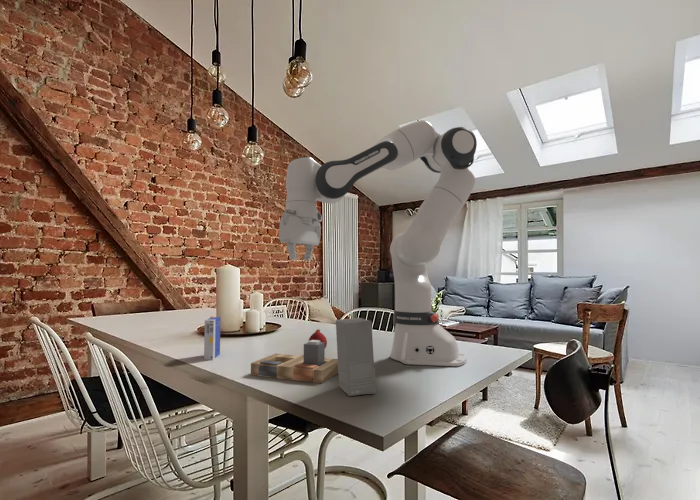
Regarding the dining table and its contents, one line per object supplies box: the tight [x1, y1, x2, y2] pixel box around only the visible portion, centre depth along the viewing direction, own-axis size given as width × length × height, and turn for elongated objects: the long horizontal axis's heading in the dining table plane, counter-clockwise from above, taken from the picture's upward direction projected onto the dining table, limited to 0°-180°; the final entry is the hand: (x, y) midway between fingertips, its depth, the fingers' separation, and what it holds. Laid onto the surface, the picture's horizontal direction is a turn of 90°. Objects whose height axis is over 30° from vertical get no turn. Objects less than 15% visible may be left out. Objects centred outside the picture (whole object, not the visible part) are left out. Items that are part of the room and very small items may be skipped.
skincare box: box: [335, 317, 377, 397], centre depth 88 cm, size 8×7×16 cm
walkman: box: [203, 315, 221, 361], centre depth 120 cm, size 8×3×12 cm, turn 4°
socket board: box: [250, 353, 338, 384], centre depth 102 cm, size 20×12×3 cm, turn 69°
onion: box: [308, 328, 328, 349], centre depth 123 cm, size 6×6×8 cm
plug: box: [303, 340, 326, 366], centre depth 100 cm, size 4×4×9 cm
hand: (300, 260), depth 114 cm, fingers open, 8 cm apart
